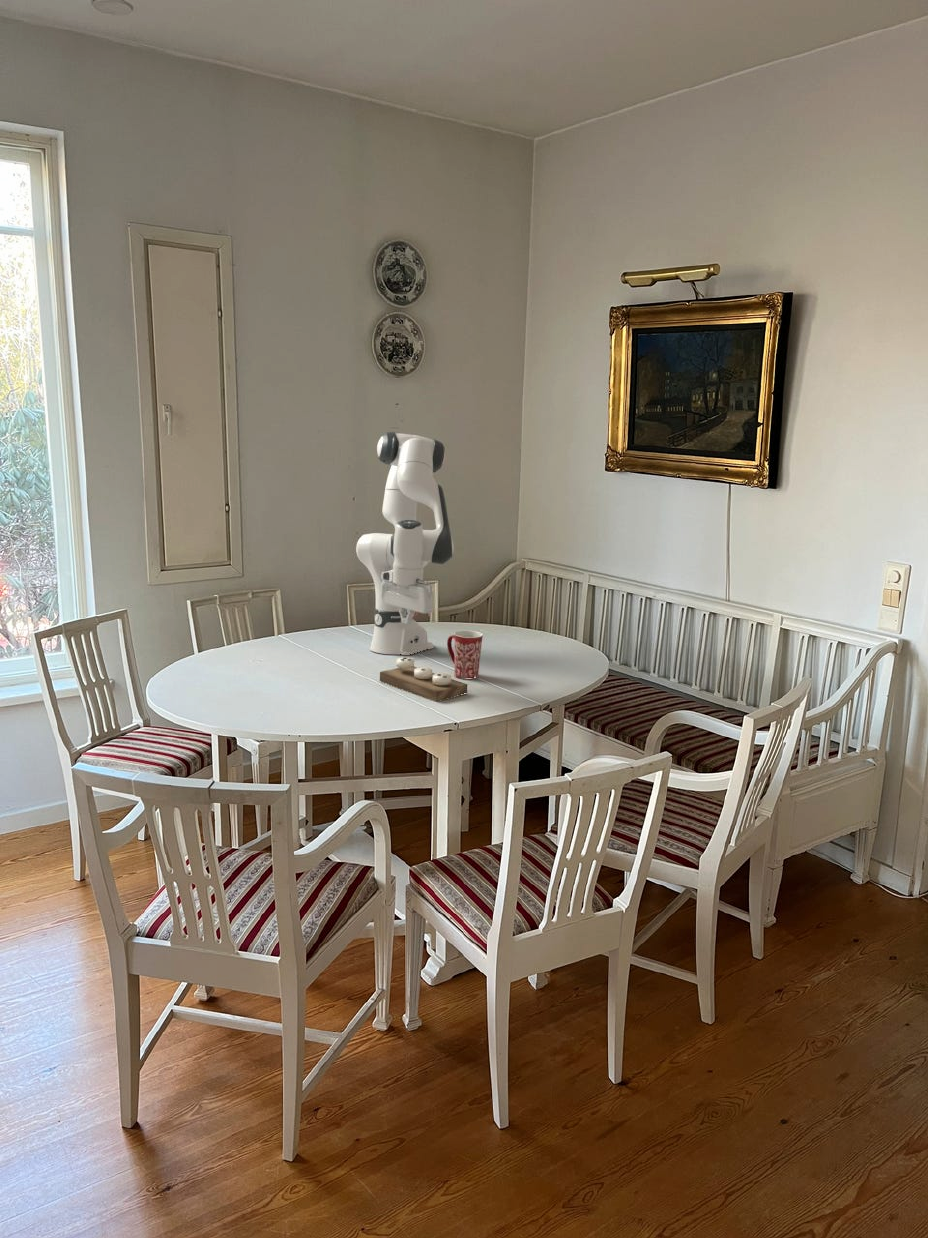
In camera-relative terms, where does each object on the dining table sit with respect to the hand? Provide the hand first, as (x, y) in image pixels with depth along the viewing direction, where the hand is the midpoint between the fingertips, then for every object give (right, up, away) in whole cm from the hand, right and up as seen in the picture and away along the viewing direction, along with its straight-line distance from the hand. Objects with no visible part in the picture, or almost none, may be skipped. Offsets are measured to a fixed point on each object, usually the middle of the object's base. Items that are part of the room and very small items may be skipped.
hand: (406, 623), depth 277 cm
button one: (+5, -16, -2) cm, 16 cm away
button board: (+5, -19, -2) cm, 20 cm away
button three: (0, -13, +3) cm, 13 cm away
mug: (+16, -16, +13) cm, 27 cm away
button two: (+11, -17, -8) cm, 21 cm away
